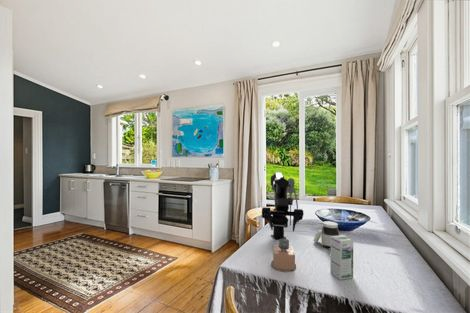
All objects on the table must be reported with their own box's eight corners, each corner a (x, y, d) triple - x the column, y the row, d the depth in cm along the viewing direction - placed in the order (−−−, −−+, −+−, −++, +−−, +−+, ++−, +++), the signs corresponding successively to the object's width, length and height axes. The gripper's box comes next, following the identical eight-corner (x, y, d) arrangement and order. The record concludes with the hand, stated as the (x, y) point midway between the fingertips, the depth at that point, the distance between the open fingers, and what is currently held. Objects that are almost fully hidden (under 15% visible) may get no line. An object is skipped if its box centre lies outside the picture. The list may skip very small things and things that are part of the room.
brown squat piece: (270, 259, 100) (271, 244, 99) (294, 260, 98) (294, 246, 98) (271, 270, 90) (271, 254, 90) (297, 272, 88) (298, 256, 88)
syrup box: (340, 280, 83) (341, 240, 83) (329, 272, 89) (330, 235, 89) (353, 278, 85) (354, 239, 85) (341, 270, 91) (342, 234, 90)
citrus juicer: (281, 220, 160) (282, 177, 159) (294, 219, 163) (294, 177, 162) (290, 225, 149) (290, 179, 149) (303, 224, 152) (304, 178, 152)
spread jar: (340, 251, 109) (341, 226, 109) (315, 248, 112) (316, 225, 111) (334, 241, 121) (335, 220, 121) (312, 240, 123) (312, 218, 123)
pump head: (278, 257, 96) (278, 238, 96) (288, 257, 96) (288, 238, 96) (279, 264, 90) (279, 243, 90) (289, 264, 89) (290, 244, 89)
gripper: (262, 190, 107) (261, 220, 96) (303, 191, 105) (307, 222, 94) (262, 203, 115) (261, 232, 104) (300, 204, 113) (303, 235, 102)
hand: (282, 230), depth 101 cm, fingers open, 9 cm apart
